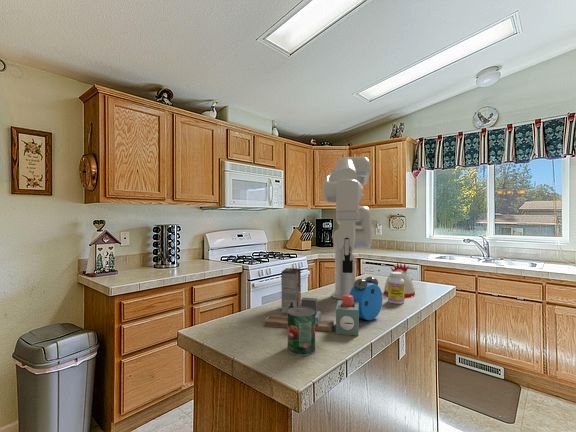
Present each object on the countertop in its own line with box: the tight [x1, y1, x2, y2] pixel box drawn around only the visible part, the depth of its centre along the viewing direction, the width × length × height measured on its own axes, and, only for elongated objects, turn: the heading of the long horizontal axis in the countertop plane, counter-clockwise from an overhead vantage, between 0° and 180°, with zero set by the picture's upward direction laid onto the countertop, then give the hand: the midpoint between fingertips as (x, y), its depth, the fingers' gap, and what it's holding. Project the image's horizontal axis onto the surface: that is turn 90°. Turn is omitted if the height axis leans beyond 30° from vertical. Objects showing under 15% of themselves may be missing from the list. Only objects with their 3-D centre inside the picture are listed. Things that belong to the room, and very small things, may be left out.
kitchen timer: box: [383, 262, 416, 298], centre depth 149 cm, size 14×14×15 cm
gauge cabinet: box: [335, 299, 360, 336], centre depth 102 cm, size 10×7×8 cm, turn 166°
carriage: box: [301, 297, 322, 325], centre depth 106 cm, size 8×7×7 cm
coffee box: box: [280, 267, 302, 314], centre depth 124 cm, size 9×6×16 cm
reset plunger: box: [341, 295, 353, 307], centre depth 103 cm, size 4×4×5 cm
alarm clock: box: [350, 276, 384, 321], centre depth 113 cm, size 13×6×15 cm, turn 130°
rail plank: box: [264, 314, 335, 333], centre depth 107 cm, size 7×23×2 cm, turn 76°
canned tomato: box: [287, 307, 316, 357], centre depth 87 cm, size 8×8×11 cm
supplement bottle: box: [387, 271, 405, 305], centre depth 134 cm, size 7×7×13 cm
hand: (347, 271), depth 103 cm, fingers closed
